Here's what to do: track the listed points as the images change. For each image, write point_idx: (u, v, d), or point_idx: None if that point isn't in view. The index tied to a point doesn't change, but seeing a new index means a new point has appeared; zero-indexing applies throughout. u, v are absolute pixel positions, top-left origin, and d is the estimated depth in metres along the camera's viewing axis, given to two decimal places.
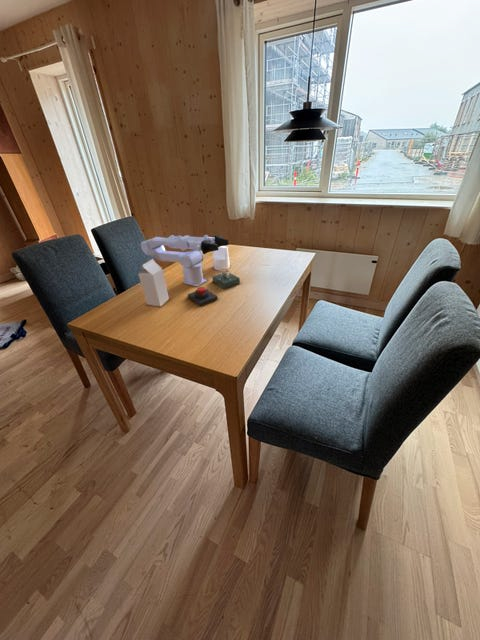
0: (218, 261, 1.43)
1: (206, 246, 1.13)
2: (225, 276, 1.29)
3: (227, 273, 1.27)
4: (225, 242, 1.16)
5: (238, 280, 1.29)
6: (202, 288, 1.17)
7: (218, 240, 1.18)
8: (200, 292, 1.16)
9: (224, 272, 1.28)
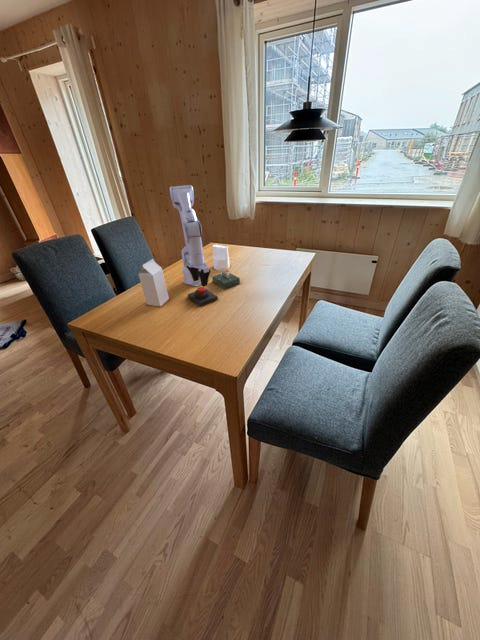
0: (218, 261, 1.43)
1: None
2: (225, 276, 1.29)
3: (227, 273, 1.27)
4: None
5: (238, 280, 1.29)
6: (202, 288, 1.17)
7: None
8: (200, 292, 1.16)
9: (224, 272, 1.28)
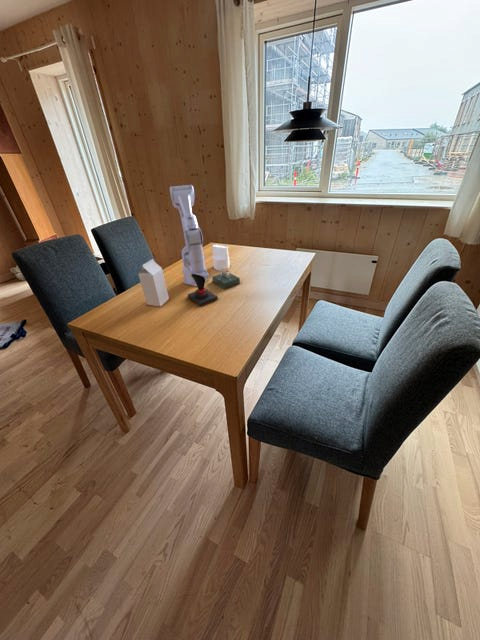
0: (218, 261, 1.43)
1: None
2: (225, 276, 1.29)
3: (227, 273, 1.27)
4: None
5: (238, 280, 1.29)
6: None
7: None
8: (200, 292, 1.16)
9: (224, 272, 1.28)
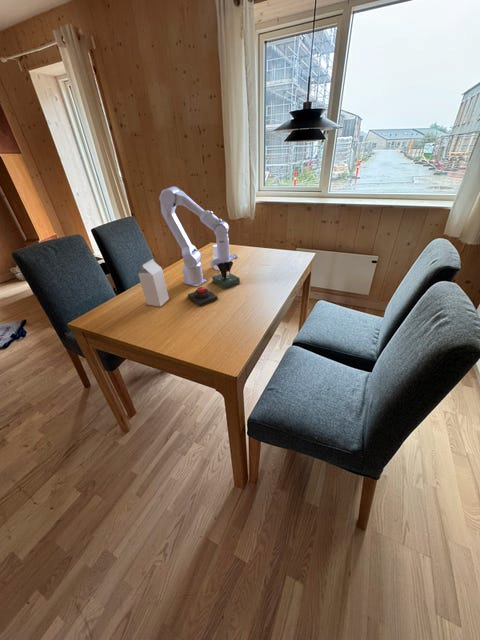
0: None
1: None
2: None
3: (227, 273, 1.27)
4: None
5: (238, 280, 1.29)
6: (202, 288, 1.17)
7: (227, 266, 1.27)
8: (200, 292, 1.16)
9: None
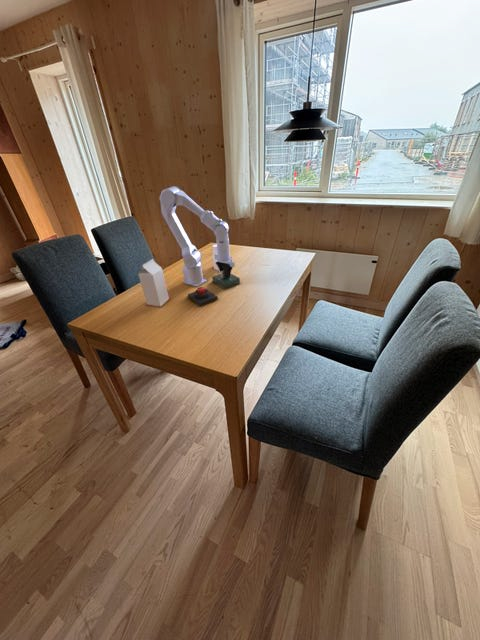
0: None
1: (228, 266, 1.26)
2: None
3: None
4: None
5: (238, 280, 1.29)
6: (202, 288, 1.17)
7: (223, 265, 1.29)
8: (200, 292, 1.16)
9: None
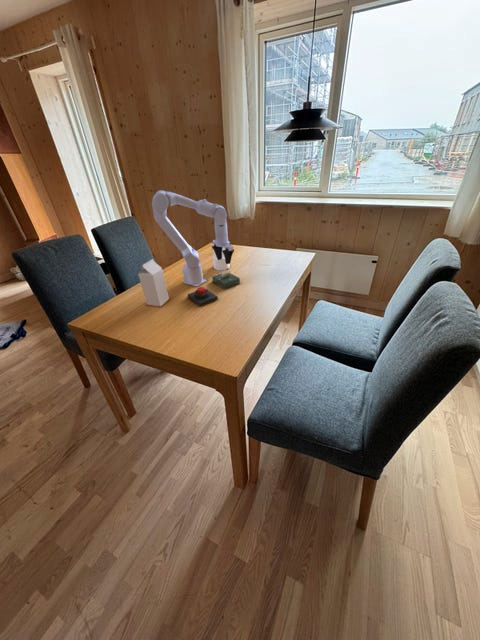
0: (218, 261, 1.43)
1: (228, 252, 1.25)
2: (228, 275, 1.30)
3: None
4: (219, 257, 1.32)
5: (238, 280, 1.29)
6: (202, 288, 1.17)
7: (219, 249, 1.31)
8: (200, 292, 1.16)
9: (226, 271, 1.29)
